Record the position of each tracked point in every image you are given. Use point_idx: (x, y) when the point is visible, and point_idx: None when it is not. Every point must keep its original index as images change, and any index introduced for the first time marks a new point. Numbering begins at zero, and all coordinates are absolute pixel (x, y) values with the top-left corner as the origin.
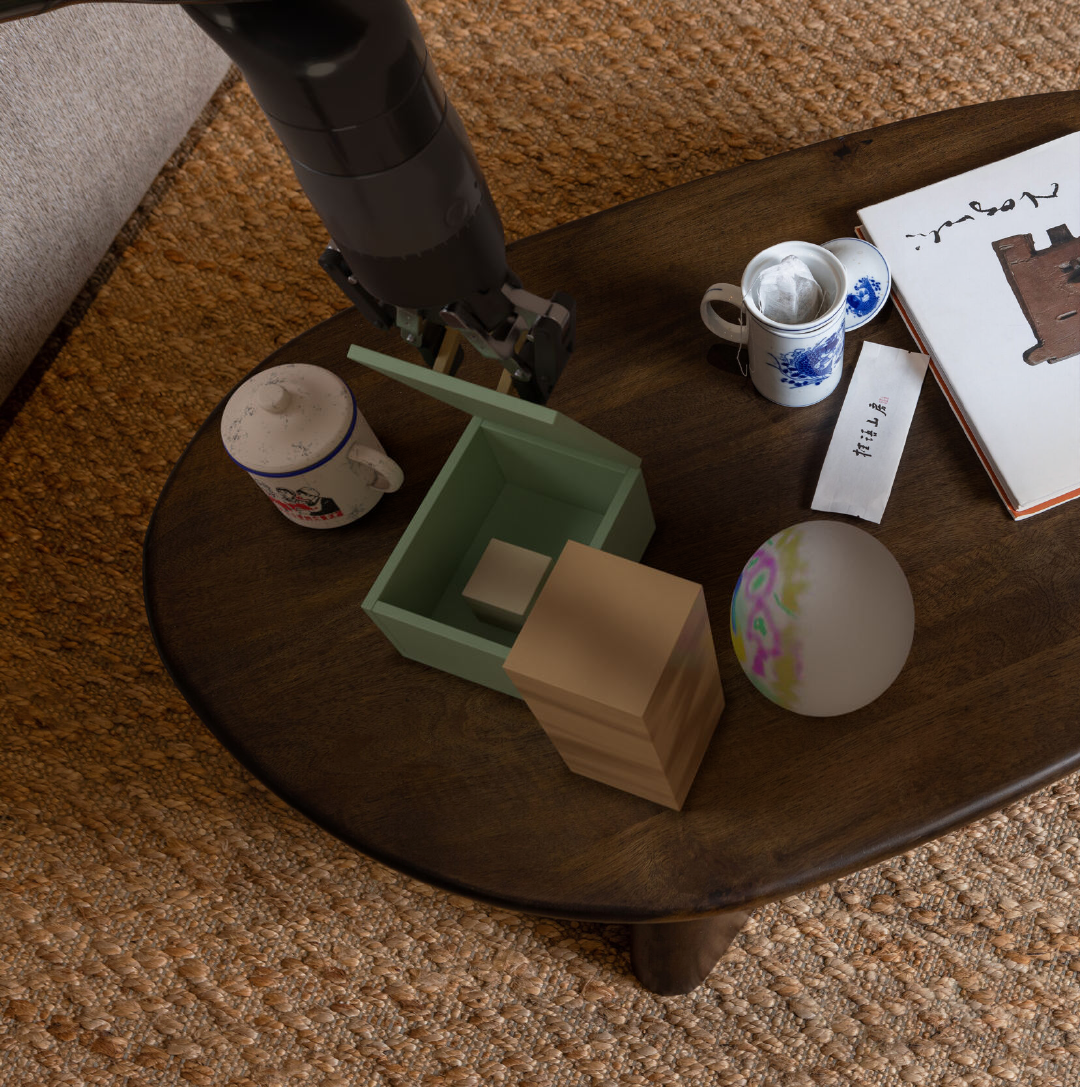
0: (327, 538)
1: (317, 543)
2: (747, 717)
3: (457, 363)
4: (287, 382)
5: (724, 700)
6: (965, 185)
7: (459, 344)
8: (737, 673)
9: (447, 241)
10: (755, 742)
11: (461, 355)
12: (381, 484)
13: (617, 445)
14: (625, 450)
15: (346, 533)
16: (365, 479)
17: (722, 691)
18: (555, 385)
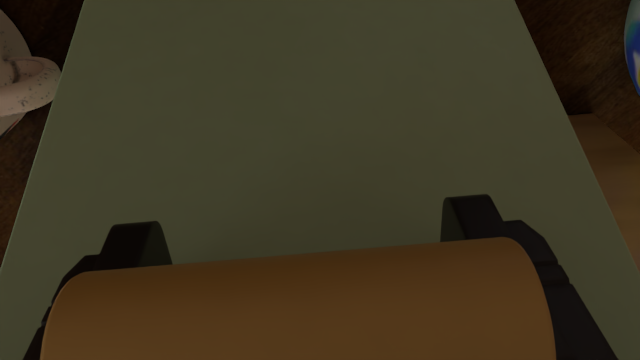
0: (22, 132)
1: (17, 143)
2: (621, 115)
3: (164, 263)
4: None
5: (600, 120)
6: None
7: (142, 263)
8: (598, 72)
9: None
10: (636, 136)
11: (155, 239)
12: (27, 66)
13: (535, 48)
14: (517, 8)
15: (36, 117)
16: (6, 84)
17: (617, 135)
18: (527, 226)
